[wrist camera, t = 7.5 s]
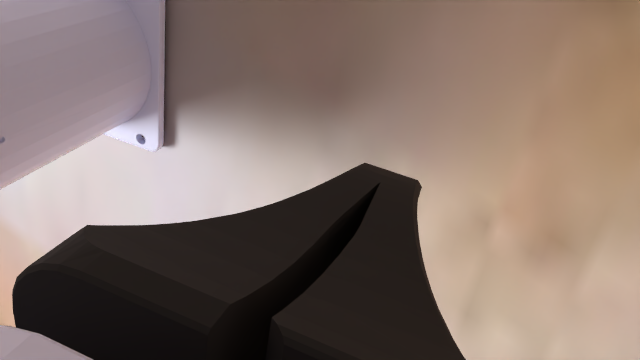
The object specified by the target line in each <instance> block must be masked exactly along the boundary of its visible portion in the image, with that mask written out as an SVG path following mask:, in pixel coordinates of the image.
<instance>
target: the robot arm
mask: <svg viewBox="0 0 640 360" xmlns="http://www.w3.org/2000/svg"><path fill="white" fill-rule="evenodd" d="M164 59H165V0H0V189H2V188H4V187H6V186H8V185H9V184H11V183H13V182H15V181H17V180H19V179H21V178H22V177H24V176H26V175H28V174H30V173H32V172H33V171H35V170H37V169H39V168H41V167H43V166H45V165H46V164H48V163H50V162H52V161H54V160H56V159H58V158H59V157H61V156H63V155H65V154H67V153H69V152H70V151H72V150H74V149H76V148H78V147H80V146H82V145H83V144H85V143H87V142H89V141H91V140H93V139H95V138H96V137H98V136H100V135H102V134H104V135H107V136H110V137H113V138H115V139H118V140H121V141H124V142H126V143H129V144H132V145H135V146H137V147H140V148H143V149H146V150H148V151H152V152H155V151H158V150H159V149H161V148H162V146H163V142H164ZM142 135H143V136H144V137H145V140H146V141H145V140H144V139H143V138H142ZM421 188H422V187H421V185H420V183H419V181H418V180H415V179H412V178H409V177H406V176H403V175H400V174H397V173H394V172H391V171H388V170H385V169H382V168H379V167H376V166H373V165H370V164H367V163H363V164H361V165H359V166H357V167H355V168H353V169H351V170H349V171H347V172H345V173H343V174H341V175H339V176H337V177H335V178H333V179H331V180H329V181H327V182H325V183H323V184H320V185H318V186H316V187H314V188H312V189H310V190H307V191H305V192H302V193H300V194H297V195H295V196H292V197H289V198H287V199H284V200H282V201H279V202H276V203H273V204H270V205H267V206H264V207H260V208H256V209H253V210H249V211H245V212H241V213H237V214H232V215H226V216H221V217H215V218H210V219H204V220H199V221H191V222H182V223H172V224H158V225H128V226H98V225H87V226H85V227H84V228H82V229H80V230H79V231H78V232H76V233H75V234H73V235H72V236H71V237H69V238H68V239H66V240H65V241H63V242H62V243H61V244H59V245H58V246H56V247H55V248H54V249H52V250H51V251H49V252H48V253H47V254H45V255H44V256H42V257H41V258H40V259H38V260H37V261H35V262H34V263H32V264H31V265H30V266H28V267H27V268H26V269H25V270H24V271H23V272H22V273H21V274H20V275H19V276H18V277H17V279H16V282H15V285H14V288H13V294H12V297H13V314H14V319H15V325H16V327H12V326H3V325H0V360H466V359H465V358H464V357H463V355H462V353H461V352H460V350H459V348H458V347H457V345H456V343H455V341H454V340H453V338H452V336H451V334H450V331H449V329H448V327H447V325H446V323H445V321H444V319H443V317H442V315H441V313H440V311H439V309H438V306H437V304H436V301H435V298H434V296H433V293H432V290H431V287H430V284H429V281H428V278H427V274H426V271H425V267H424V262H423V258H422V253H421V248H420V241H419V233H418V222H417V202H418V197H419V194H420V191H421Z"/></svg>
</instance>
